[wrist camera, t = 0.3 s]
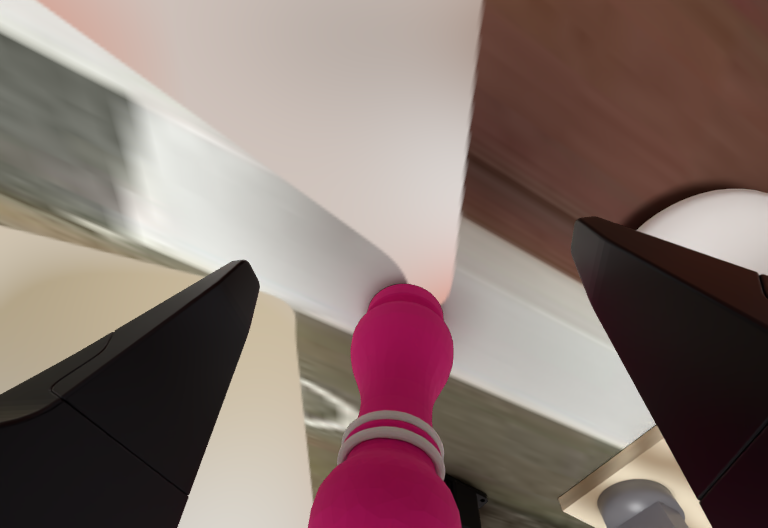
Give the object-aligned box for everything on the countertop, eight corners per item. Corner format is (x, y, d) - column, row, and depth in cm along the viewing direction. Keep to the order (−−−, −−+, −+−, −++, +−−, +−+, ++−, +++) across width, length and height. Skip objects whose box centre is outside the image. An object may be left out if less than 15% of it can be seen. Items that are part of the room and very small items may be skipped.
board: (702, 571, 36) (710, 585, 35) (558, 498, 34) (562, 510, 33) (904, 470, 28) (923, 484, 27) (732, 368, 26) (746, 378, 25)
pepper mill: (366, 270, 26) (238, 602, 8) (457, 285, 26) (538, 668, 8) (358, 344, 29) (248, 714, 11) (440, 358, 29) (468, 765, 11)
